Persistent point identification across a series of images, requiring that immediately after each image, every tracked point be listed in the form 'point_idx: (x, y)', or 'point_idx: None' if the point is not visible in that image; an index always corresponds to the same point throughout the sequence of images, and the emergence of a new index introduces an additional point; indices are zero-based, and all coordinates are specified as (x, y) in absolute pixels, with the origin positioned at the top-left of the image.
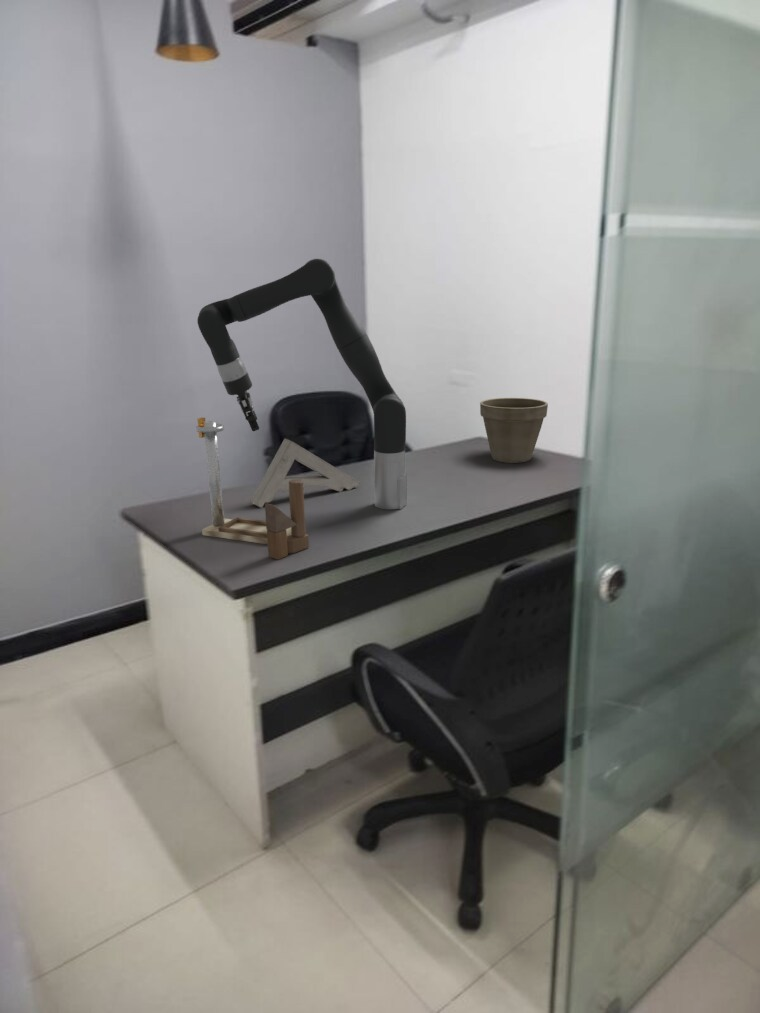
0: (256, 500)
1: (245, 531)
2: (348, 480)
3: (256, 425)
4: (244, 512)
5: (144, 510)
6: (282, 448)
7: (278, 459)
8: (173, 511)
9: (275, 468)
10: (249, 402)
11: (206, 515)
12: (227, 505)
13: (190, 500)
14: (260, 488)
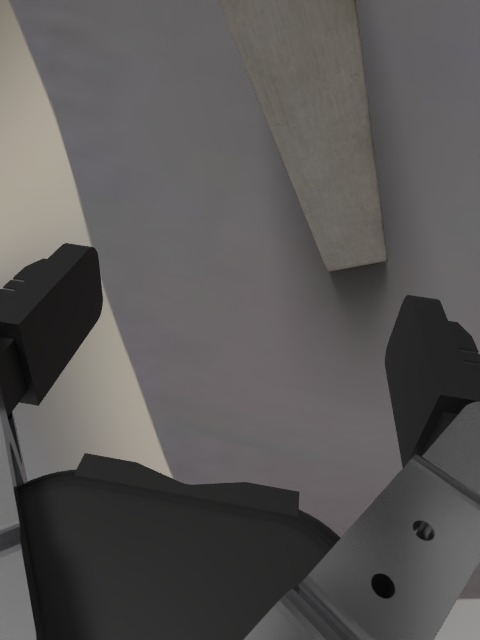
0: (368, 255)
1: None
2: None
3: (474, 351)
4: None
5: None
6: (291, 48)
7: (334, 109)
8: None
9: (365, 147)
10: (270, 590)
11: (377, 435)
12: (295, 346)
13: (190, 438)
14: (341, 233)
